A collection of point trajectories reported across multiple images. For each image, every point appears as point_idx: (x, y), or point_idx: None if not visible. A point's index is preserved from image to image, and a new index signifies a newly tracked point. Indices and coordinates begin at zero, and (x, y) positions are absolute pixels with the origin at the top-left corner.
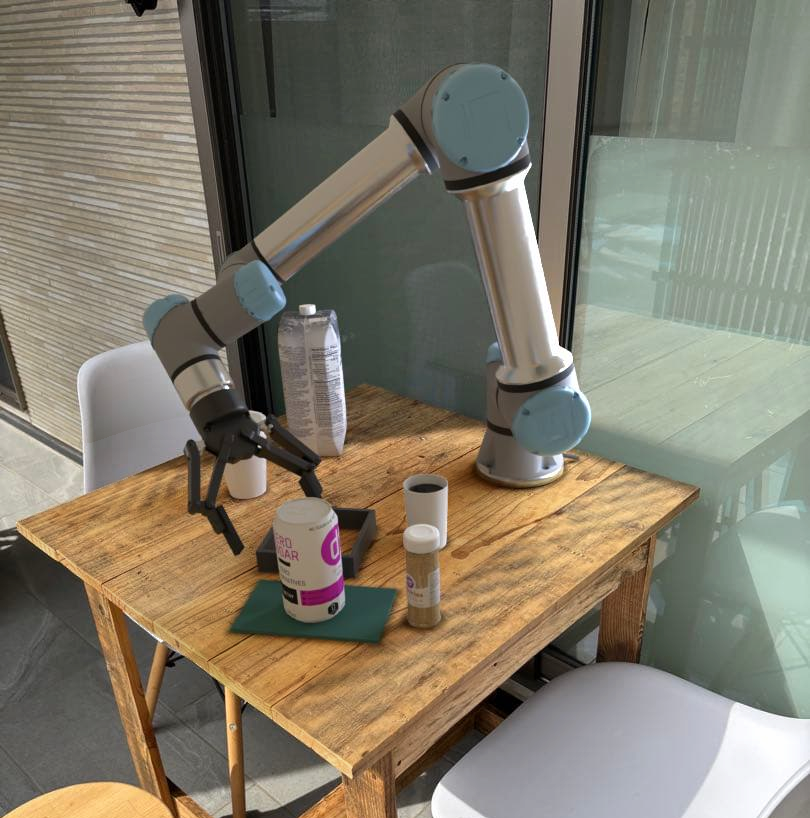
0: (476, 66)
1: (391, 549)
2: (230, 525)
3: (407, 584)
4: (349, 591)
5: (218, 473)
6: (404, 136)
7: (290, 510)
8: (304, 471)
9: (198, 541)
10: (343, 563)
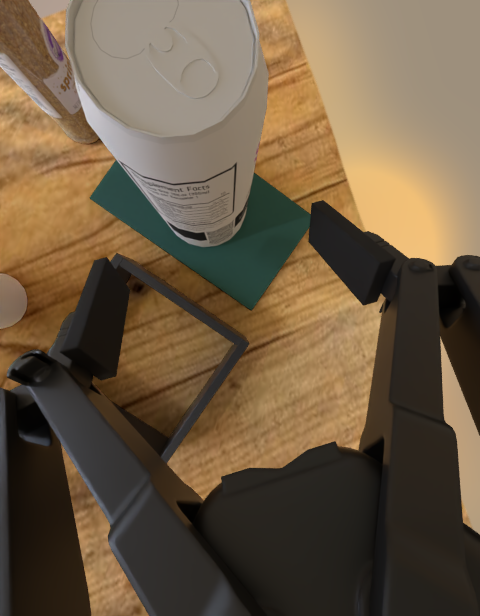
0: None
1: (56, 307)
2: (347, 226)
3: (61, 60)
4: (151, 223)
5: (417, 360)
6: None
7: (205, 75)
8: (72, 373)
9: (299, 455)
10: (135, 264)
